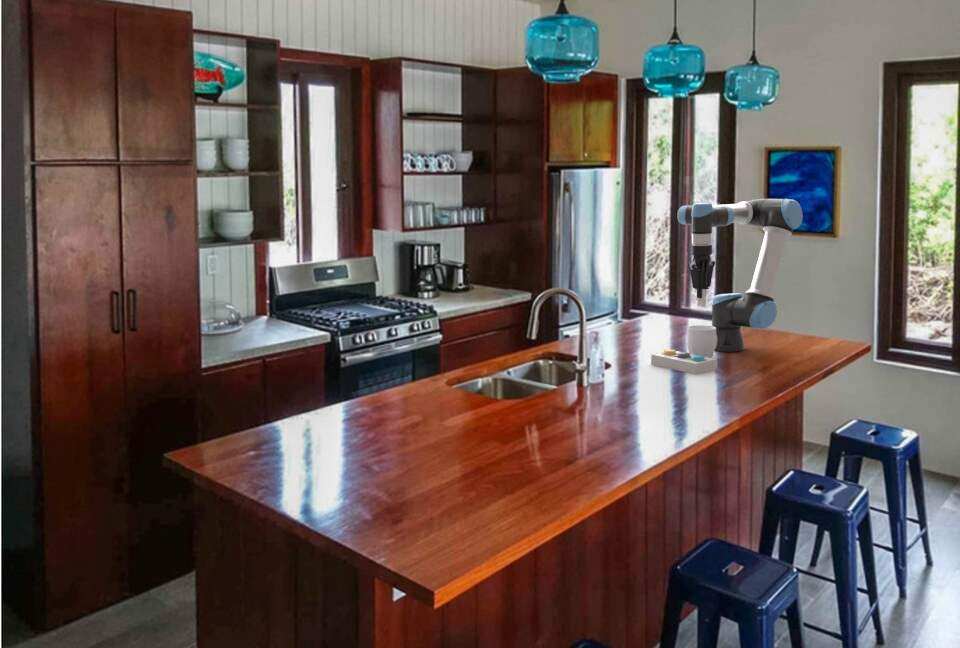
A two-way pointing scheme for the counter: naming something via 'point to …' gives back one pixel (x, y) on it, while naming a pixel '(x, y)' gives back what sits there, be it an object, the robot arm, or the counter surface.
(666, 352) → the mustard button
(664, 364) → the console
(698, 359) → the teal button
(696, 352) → the mug
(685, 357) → the charcoal button
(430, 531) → the counter surface
